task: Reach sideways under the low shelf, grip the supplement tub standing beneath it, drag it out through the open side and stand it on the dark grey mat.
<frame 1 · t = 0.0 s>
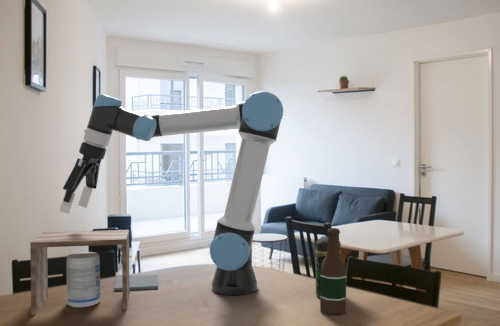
hand: (73, 209, 151), 28 cm above the table, tool tilted 20°, fingers open, 13 cm apart
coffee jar: (327, 295, 156), on the table
beer bottle: (332, 312, 140), on the table
supplement tub: (83, 304, 147), on the table
shelf: (83, 303, 147), on the table
mat: (136, 284, 168), on the table
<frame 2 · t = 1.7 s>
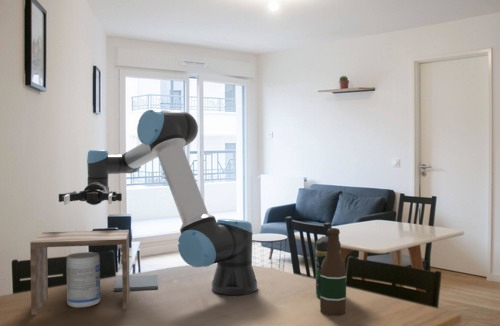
hand: (87, 200, 156), 30 cm above the table, tool horizontal, fingers open, 13 cm apart
nothing on the table moved.
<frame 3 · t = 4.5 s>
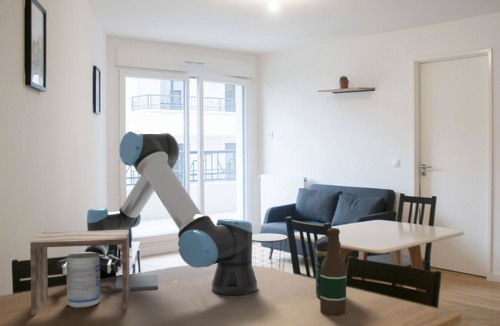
hand: (86, 269, 155), 8 cm above the table, tool horizontal, fingers open, 13 cm apart
nothing on the table moved.
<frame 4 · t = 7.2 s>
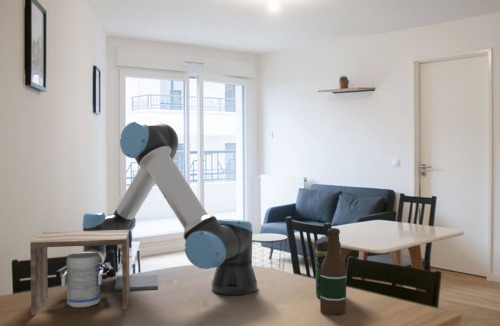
hand: (81, 280, 143), 8 cm above the table, tool horizontal, fingers closed on supplement tub, 9 cm apart
supplement tub: (83, 303, 147), on the table, touching gripper
everything else where it was.
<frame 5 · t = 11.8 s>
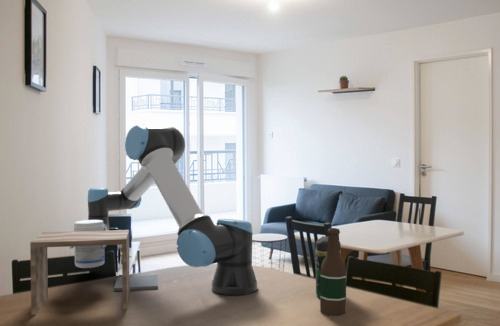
hand: (87, 243, 158), 16 cm above the table, tool horizontal, fingers closed on supplement tub, 9 cm apart
supplement tub: (89, 265, 163), point 7 cm above the table, touching gripper
everything else where it was.
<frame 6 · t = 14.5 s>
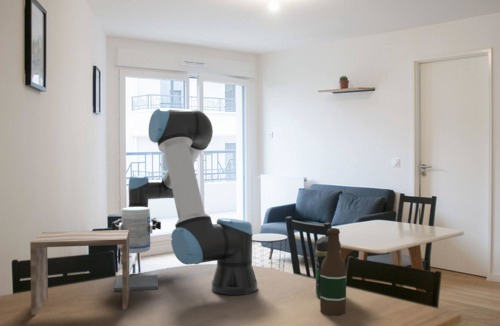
hand: (135, 229, 163), 19 cm above the table, tool horizontal, fingers closed on supplement tub, 9 cm apart
supplement tub: (136, 251, 168), point 11 cm above the table, touching gripper
everything else where it was.
when the fingers open (10 cm above the table, at t = 16.6 s): supplement tub drops 1 cm, resting on mat.
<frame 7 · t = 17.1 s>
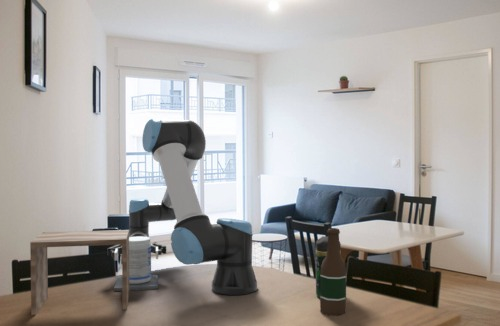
hand: (136, 255, 164), 10 cm above the table, tool horizontal, fingers open, 13 cm apart
supplement tub: (137, 281, 168), point 1 cm above the table, touching mat
everything else where it was.
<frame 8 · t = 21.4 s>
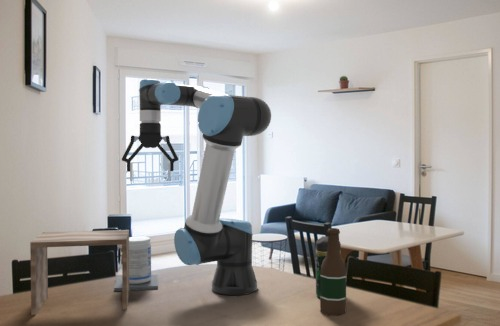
hand: (150, 180, 179), 35 cm above the table, tool pointing down, fingers open, 13 cm apart
nothing on the table moved.
at the end: supplement tub inside the target area on the mat (0.1 cm from its centre), point 0.8 cm above the mat's base; supplement tub tilted 0°; the gripper is holding nothing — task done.
